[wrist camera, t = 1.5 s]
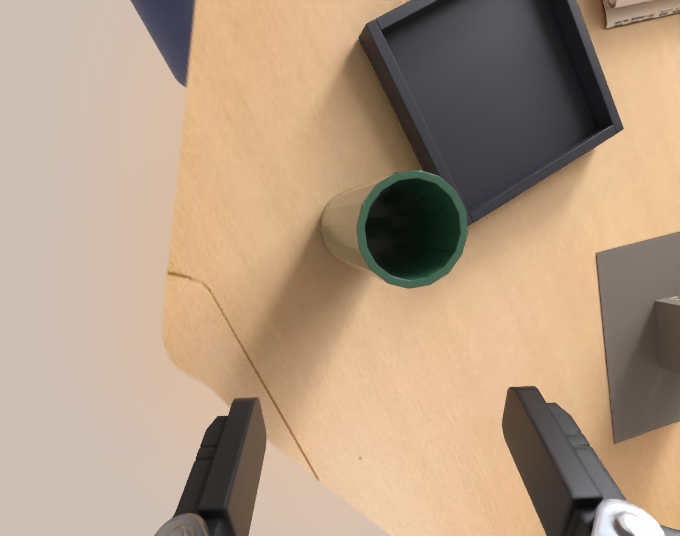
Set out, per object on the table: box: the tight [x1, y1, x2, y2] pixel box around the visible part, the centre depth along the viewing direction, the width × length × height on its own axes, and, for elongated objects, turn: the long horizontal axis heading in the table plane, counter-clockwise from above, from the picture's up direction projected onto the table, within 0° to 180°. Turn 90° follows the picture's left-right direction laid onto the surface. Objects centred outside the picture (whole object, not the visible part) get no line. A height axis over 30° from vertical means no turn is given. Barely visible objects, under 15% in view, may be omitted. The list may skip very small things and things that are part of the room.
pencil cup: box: [321, 170, 468, 288], centre depth 24 cm, size 6×6×11 cm
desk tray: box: [359, 0, 624, 226], centre depth 29 cm, size 16×16×2 cm
